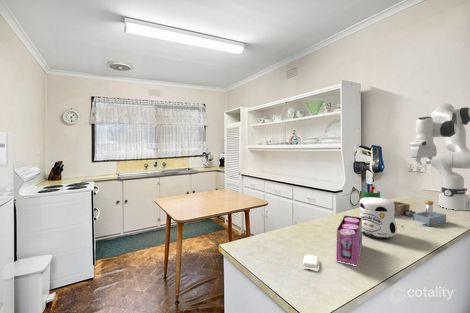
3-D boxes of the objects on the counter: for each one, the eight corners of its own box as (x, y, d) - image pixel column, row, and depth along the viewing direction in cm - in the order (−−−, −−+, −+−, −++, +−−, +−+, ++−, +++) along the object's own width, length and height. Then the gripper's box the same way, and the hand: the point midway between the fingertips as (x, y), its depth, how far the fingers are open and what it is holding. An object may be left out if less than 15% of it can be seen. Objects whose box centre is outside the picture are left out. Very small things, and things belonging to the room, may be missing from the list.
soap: (303, 259, 100) (303, 252, 100) (320, 261, 97) (320, 255, 97) (301, 270, 92) (301, 262, 91) (319, 273, 89) (319, 265, 89)
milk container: (360, 238, 118) (360, 203, 117) (356, 227, 134) (356, 196, 133) (401, 243, 111) (401, 206, 110) (391, 230, 127) (391, 197, 126)
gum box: (357, 268, 91) (356, 234, 90) (335, 263, 95) (334, 231, 94) (362, 245, 110) (362, 217, 110) (344, 241, 115) (344, 215, 114)
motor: (376, 213, 157) (376, 184, 156) (383, 217, 148) (383, 186, 147) (360, 213, 158) (360, 184, 157) (366, 217, 149) (366, 186, 148)
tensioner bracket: (396, 211, 159) (396, 200, 159) (422, 218, 144) (422, 206, 144) (384, 213, 155) (384, 202, 154) (409, 221, 140) (409, 208, 140)
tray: (428, 218, 143) (428, 210, 143) (446, 222, 135) (446, 214, 135) (412, 222, 138) (412, 213, 138) (430, 227, 130) (430, 218, 129)
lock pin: (427, 219, 139) (427, 200, 138) (434, 221, 135) (435, 201, 135) (423, 221, 138) (423, 201, 137) (430, 222, 134) (431, 202, 133)
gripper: (428, 142, 152) (428, 163, 153) (408, 143, 145) (408, 165, 145) (440, 142, 146) (439, 163, 147) (419, 143, 139) (419, 165, 140)
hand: (424, 164), depth 146 cm, fingers open, 8 cm apart
